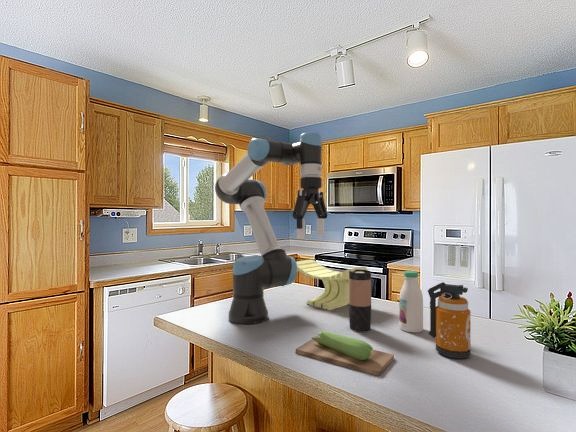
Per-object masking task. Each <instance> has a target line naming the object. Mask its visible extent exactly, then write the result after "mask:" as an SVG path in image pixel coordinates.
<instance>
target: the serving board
mask: <svg viewBox="0 0 576 432" xmlns="http://www.w3.org/2000/svg"><path fill="white" fill-rule="evenodd" d="M314 337H315V338H321V337H320V336H317V335H316V336H314ZM295 354H298V355H301V356H305V357H309V358H312V359H316V360H319V361H323V362H327V363H330V364H334V365H338V366H342V367H344V368H349V369H352V370H356V371H359V372H363V373H366V374H370V375H374V376H376V377H380V376H381V375H382V374H383V372H384V371H385V370H386V369H387V368H388V367H389V365H391V363H392V362H393V361H394V359H395V354H393V353H389V352H385V351H381V350H376V349H373V355H370V357H369V358H367V359H365V360H358V359H355V358H353V357H350V356H348V355H346V354H343V353H341V352H339V351H336V350H334V349H332V348H330V347H327V346H325V345H322V344H319V343H317V342H316V341H314V340H313V339H312V338H311V339H309V340H308V341H306V342H304V343H303V344H302V345H300V346H298V347H296V348H295Z"/></svg>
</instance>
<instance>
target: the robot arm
mask: <svg viewBox="0 0 576 432" xmlns="http://www.w3.org/2000/svg"><path fill="white" fill-rule="evenodd" d="M248 143H249V144H248V145H247V151H246V154H245V155H244V156H243V157H241V159H240V160H239V161H238V162H237V163H236V164H235V165H234V166H232V168H231V169H230V170H229V171H228V172H227V173H223V174H222V175H220V176H219V177H218V179H217V180H216V182H215V185H214V191H215V194H216V196H217V197H218V199H219V200H220V201H222V202H223V203H225V204H228V205H229V204H230V205H239V208H240V210H241V212H243V213H245V215H246V217H247V219H248V223H249V226H250V228H251V231H252V234H253V237H254V240H255V243H256V246H257V248H258V251H259V254H260V255H258V254H257V255H247V256H242V257H239V258H237V259H236V260H234V261H233V266H232V293H233V294H232V301H231V305H230V309H229V311H228V321H229V322H231V323H233V324H239V325H253V324H254V325H255V324H258V323H262V322H265V321H266V320H268V319H269V310H268V308H267V304H266V301H265V298H264V294H265V293H264V290H265V289H269V288H270V289H271V288H278V287H286V286H288V285H291V284H293V283H294V282H295V280H296V278H297V274H298V271H297V263H296V262H297V260H296V258H294V257H293V256H290V255H288V254H287V253H286V250H285V249H284V248H281V247H280V244H279V242H278V239H277V237H276V234H275V232H274V229H273V227H272V225H271V221H270V220H269V217H268V214H267V212H266V209H265V207H264V205H265V202H266V200H267V189H266V187H265V185H264V183H263V182H262V181H260V180H258V179H250V178H252V177H253V176H254V175H255V174H256V173H257V172H259V170H261V169H262V168H264V166H266V164H268V163H269V162H271V163H278V164H279V163H282V165H285V166H294V165H297V164H298V165H299V164H300V167H299V168H300V170H299V175H300V183H299V184H300V185H299V186H300V189H298V190H297V197H296V200H295V205H294V208H293V211H292V214H291V215H292V218H293V219H294V220H296V239H302V240H303V239H306V222H305V221H306V219H304V217H305V215H306V213H307V210H308V208H309V206H310V205H312V207H313V209H314V211H315V214H316V216H317V218H316V237H325V219H327V218H328V211H327V208H326V202H325V199H324V192H323V191H319V189H321V188H322V187H323V185H322V181H323V179H322V178H321V177H322V175H323V173H322V170H323V166H322V164H323V162H322V153H323V151H322V150H323V148H322V147H323V144H322V135H321V134H320V133H319V132H314V131H308V132H303V133H302V134H300V138H299V142H292V143H290V142H286V141H277V140H270V139H265V138H255V137H254V138H252V139H250V141H249V142H248Z"/></svg>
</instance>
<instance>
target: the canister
mask: <svg viewBox="0 0 576 432" xmlns="http://www.w3.org/2000/svg"><path fill="white" fill-rule="evenodd" d="M468 289H469V288H468V287H464V284H459V285H458V284H448V283H445V282H444V281H442V282H439V283H438V284H436V285H434V286H432V287H429V288H428V290H427V293H428V295H429V299H430V301H429V309H430V310H429V311H430V312H429V314H430V315H429V316H430V317H429V318H430V319H429V320H430V321H429V322H430V323H429V324H430V325H429V326H430V327H429V329H430V330H428V335H429V336H431V337H432V338H434V339H435V350H436V352H438V353H439V354H441V355H443V356H445V357H448V358H451V359H452V358H453V359H463V358H468V357H470V356H471V327H472V325H471V319H472V318H471V310H470V309H469V301H468V299H467V298H465V297H463V296H462V295H463V294H464V293H467V292H468ZM438 290H439V291H438ZM437 298H438V299H437ZM436 304H437V305H436Z"/></svg>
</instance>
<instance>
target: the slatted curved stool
mask: <svg viewBox="0 0 576 432" xmlns="http://www.w3.org/2000/svg"><path fill="white" fill-rule="evenodd" d="M296 263H297V272H301V274H302V275H305V277H306V278H309V279H310V278H312V279H313V278H314V279H317V280H321V281H322V283H323V286H324V291H323V293H322V294H320V295H319V296H317V297H315V298H312V299H309V300H307V301H306V305H307V304H309V305H308V306H311V305H312V306H313V305H314V307H315V306H317V307H316V308H319V307H320V309H323V308H324V309H323V310H326V309H327V310H326V311H333V310H335V309H337V308H341V307H344V306H346V305H349V271H355V270H368V268H367V267H366V266H359V267H353V268H348V269H345V270H344V271H342V272H340V271H335V270H333V269H330V268H328V267H326V266H324V265H322V264H321V263H319V262H318V261H316V260H315V259H305V260H299V261H297V260H296Z"/></svg>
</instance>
